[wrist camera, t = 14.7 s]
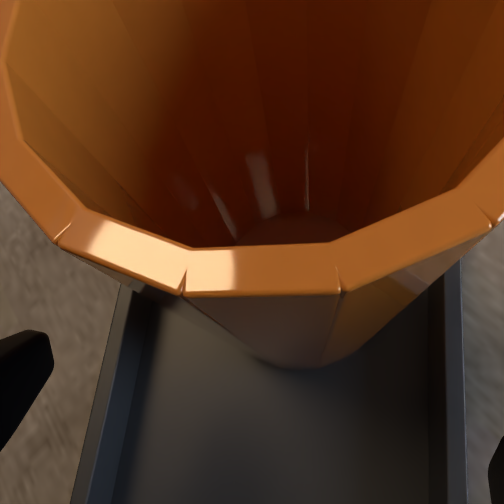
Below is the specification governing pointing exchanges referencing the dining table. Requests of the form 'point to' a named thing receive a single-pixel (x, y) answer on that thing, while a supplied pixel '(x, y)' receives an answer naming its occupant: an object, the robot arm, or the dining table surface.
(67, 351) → the dining table surface
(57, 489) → the dining table surface
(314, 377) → the tray
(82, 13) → the tumbler
